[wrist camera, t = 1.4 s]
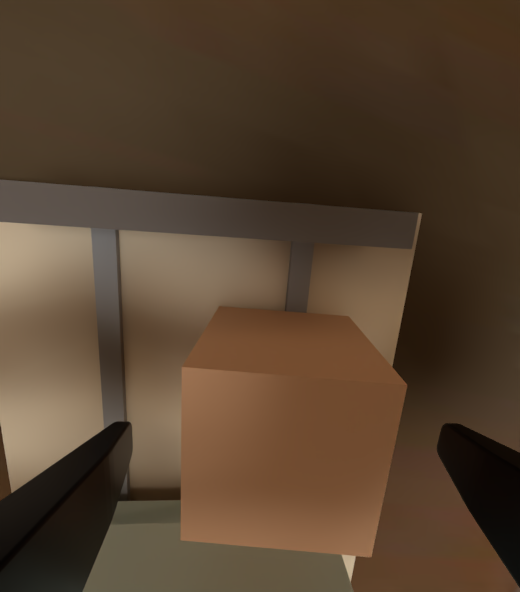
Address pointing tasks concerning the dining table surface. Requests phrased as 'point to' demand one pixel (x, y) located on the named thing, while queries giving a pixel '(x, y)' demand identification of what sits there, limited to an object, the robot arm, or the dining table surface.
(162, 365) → the track
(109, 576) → the tray with handle
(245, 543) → the block
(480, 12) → the dining table surface
